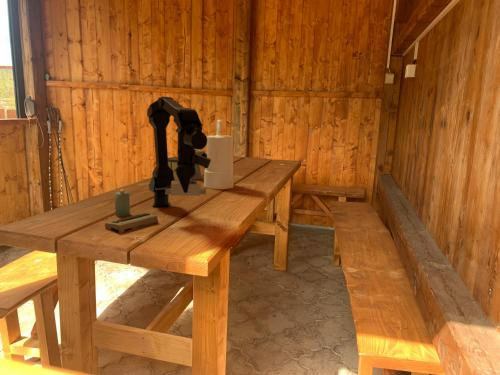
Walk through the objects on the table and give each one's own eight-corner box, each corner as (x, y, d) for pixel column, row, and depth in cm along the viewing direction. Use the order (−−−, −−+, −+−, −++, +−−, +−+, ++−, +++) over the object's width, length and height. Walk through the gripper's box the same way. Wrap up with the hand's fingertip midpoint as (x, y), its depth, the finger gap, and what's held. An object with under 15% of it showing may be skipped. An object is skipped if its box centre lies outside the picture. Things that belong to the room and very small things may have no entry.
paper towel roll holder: (237, 188, 194) (239, 121, 187) (208, 189, 189) (209, 120, 182) (227, 182, 208) (229, 119, 201) (200, 183, 202) (201, 118, 196)
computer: (143, 219, 139) (143, 210, 139) (158, 223, 135) (158, 214, 134) (104, 229, 127) (104, 219, 126) (119, 234, 122) (119, 224, 121)
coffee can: (182, 183, 200) (182, 156, 198) (191, 187, 192) (191, 159, 189) (163, 185, 195) (163, 157, 192) (171, 189, 186) (171, 160, 184)
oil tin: (116, 212, 144) (116, 188, 143) (130, 212, 145) (130, 188, 143) (114, 216, 140) (113, 191, 138) (128, 216, 140) (128, 191, 138)
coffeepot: (204, 176, 223) (204, 145, 219) (205, 179, 214) (206, 147, 210) (176, 176, 220) (176, 144, 216) (177, 179, 211) (177, 146, 207)
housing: (165, 195, 132) (164, 182, 131) (166, 191, 138) (165, 178, 137) (206, 195, 134) (206, 182, 133) (205, 191, 140) (205, 179, 139)
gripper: (211, 150, 125) (210, 197, 128) (208, 144, 143) (207, 185, 146) (176, 149, 123) (176, 197, 126) (177, 143, 141) (177, 185, 144)
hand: (185, 190), depth 136 cm, fingers closed on housing, 6 cm apart
